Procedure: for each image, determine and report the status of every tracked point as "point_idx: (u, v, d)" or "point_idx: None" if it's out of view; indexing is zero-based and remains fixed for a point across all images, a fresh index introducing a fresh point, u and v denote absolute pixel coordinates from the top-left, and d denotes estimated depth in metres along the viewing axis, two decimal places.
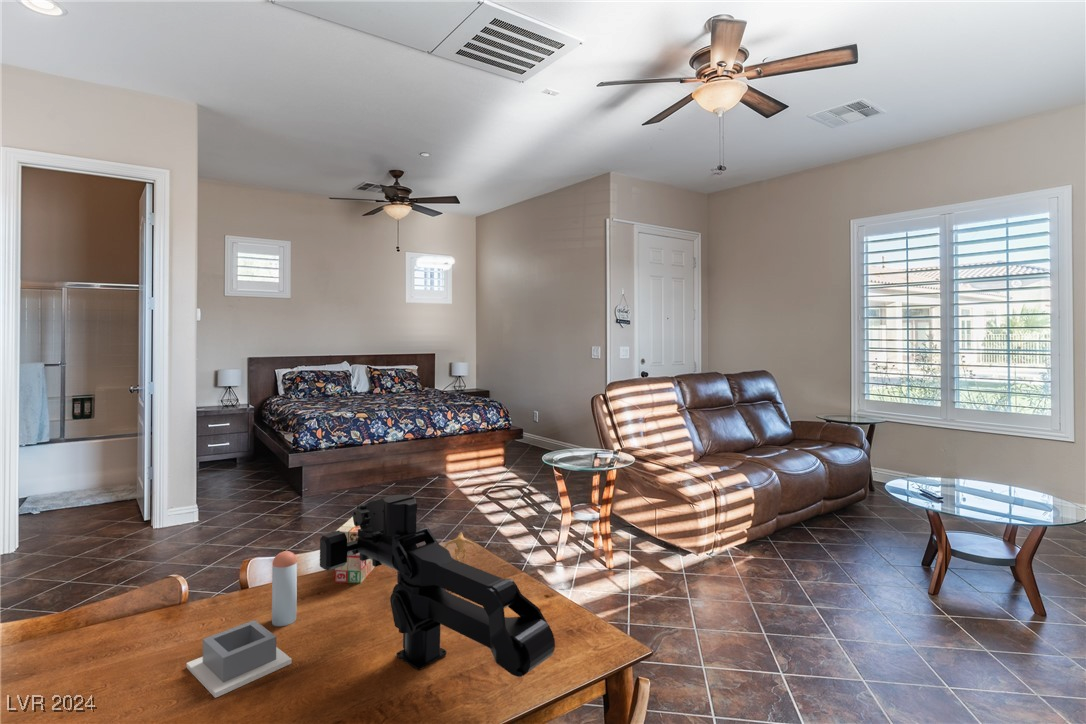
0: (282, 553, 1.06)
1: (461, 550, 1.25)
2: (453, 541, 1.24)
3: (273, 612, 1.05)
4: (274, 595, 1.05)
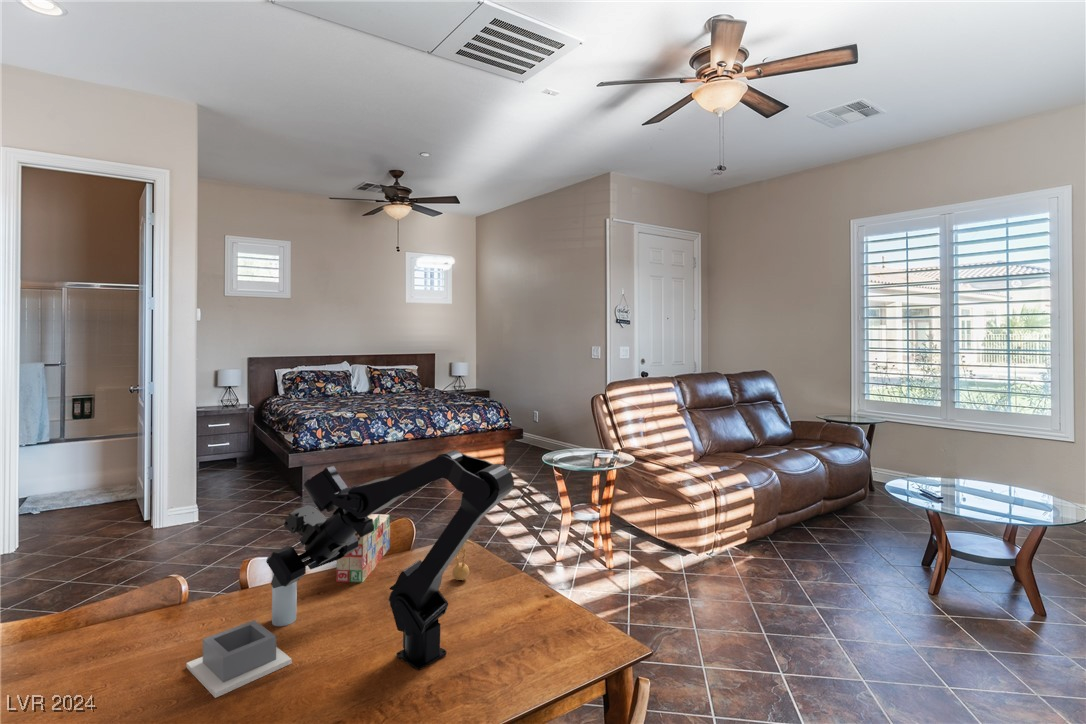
0: None
1: (461, 550, 1.25)
2: None
3: (273, 612, 1.05)
4: (274, 595, 1.05)
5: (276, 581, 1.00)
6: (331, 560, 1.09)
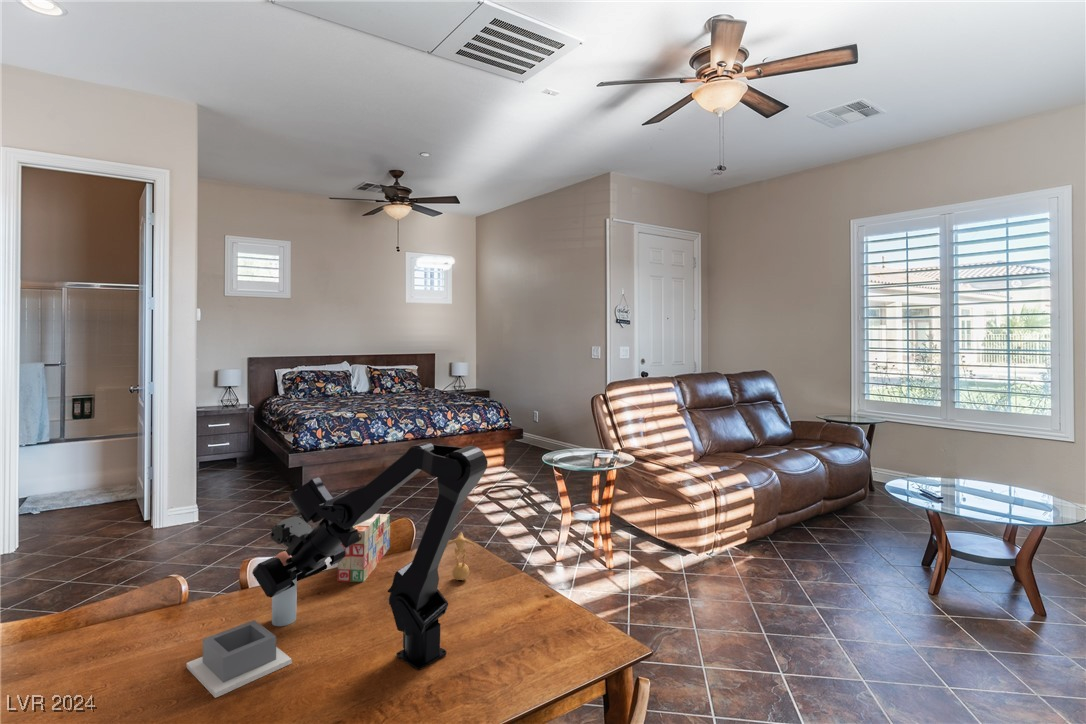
0: (282, 553, 1.06)
1: (461, 550, 1.25)
2: (453, 541, 1.24)
3: (273, 612, 1.05)
4: None
5: None
6: (310, 574, 1.08)
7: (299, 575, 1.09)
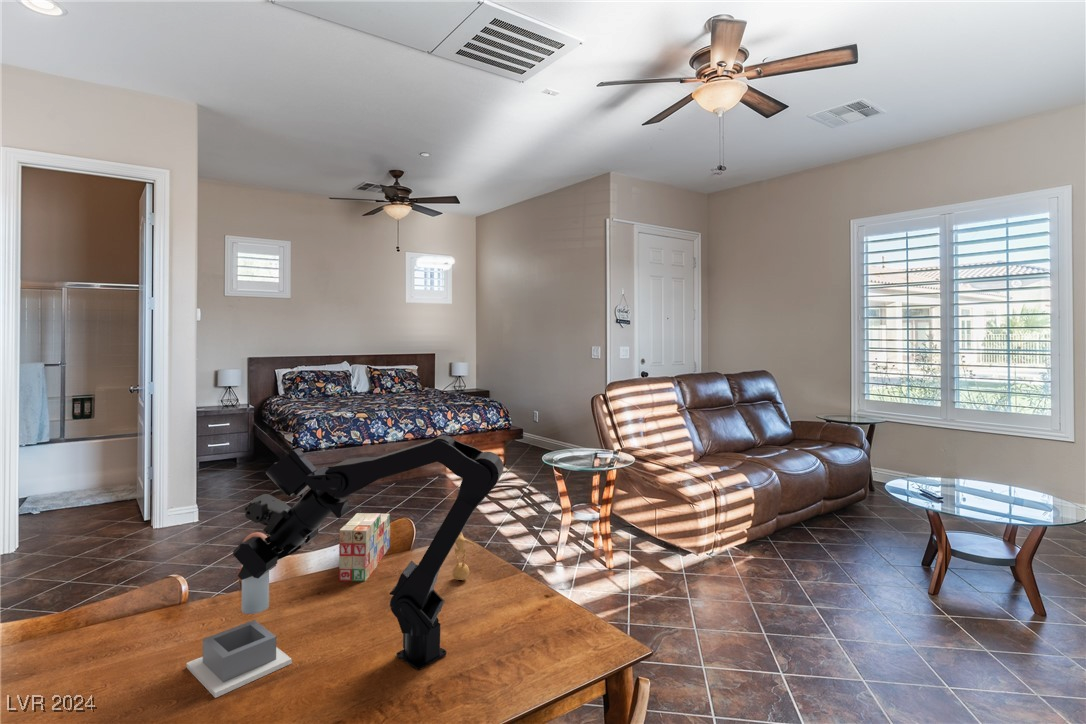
0: (253, 534, 0.97)
1: (461, 550, 1.25)
2: None
3: (245, 599, 0.96)
4: (246, 580, 0.96)
5: (246, 571, 0.95)
6: (284, 555, 1.00)
7: None
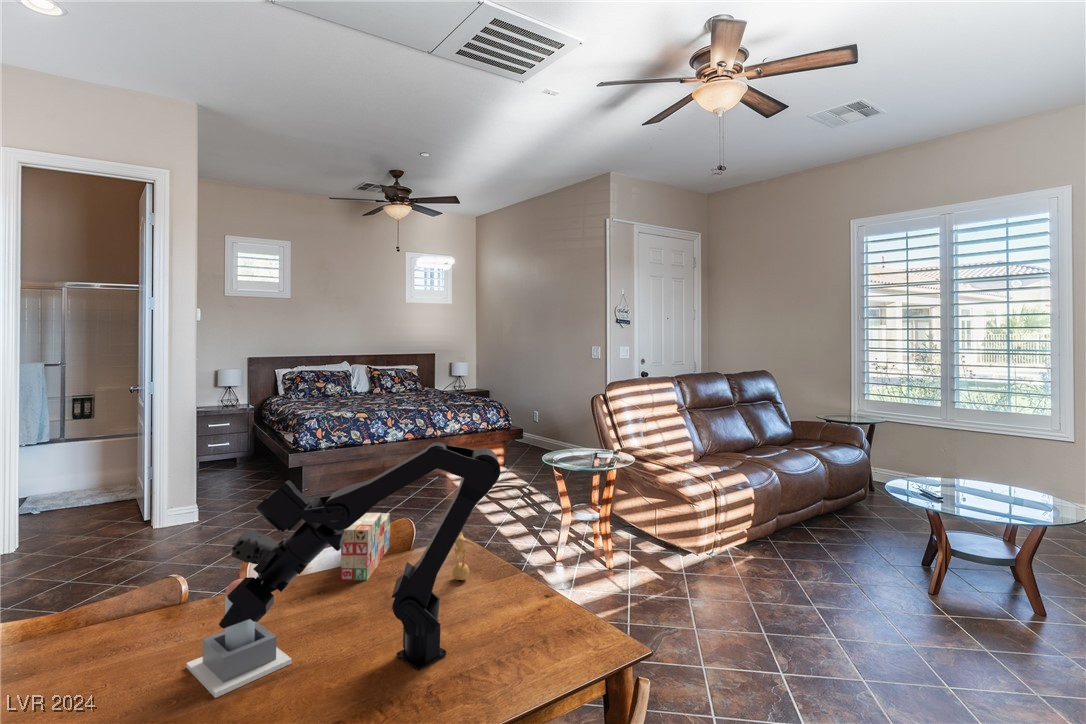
0: (238, 581, 0.92)
1: (461, 550, 1.25)
2: None
3: None
4: (232, 631, 0.90)
5: (230, 619, 0.87)
6: (273, 589, 0.96)
7: None
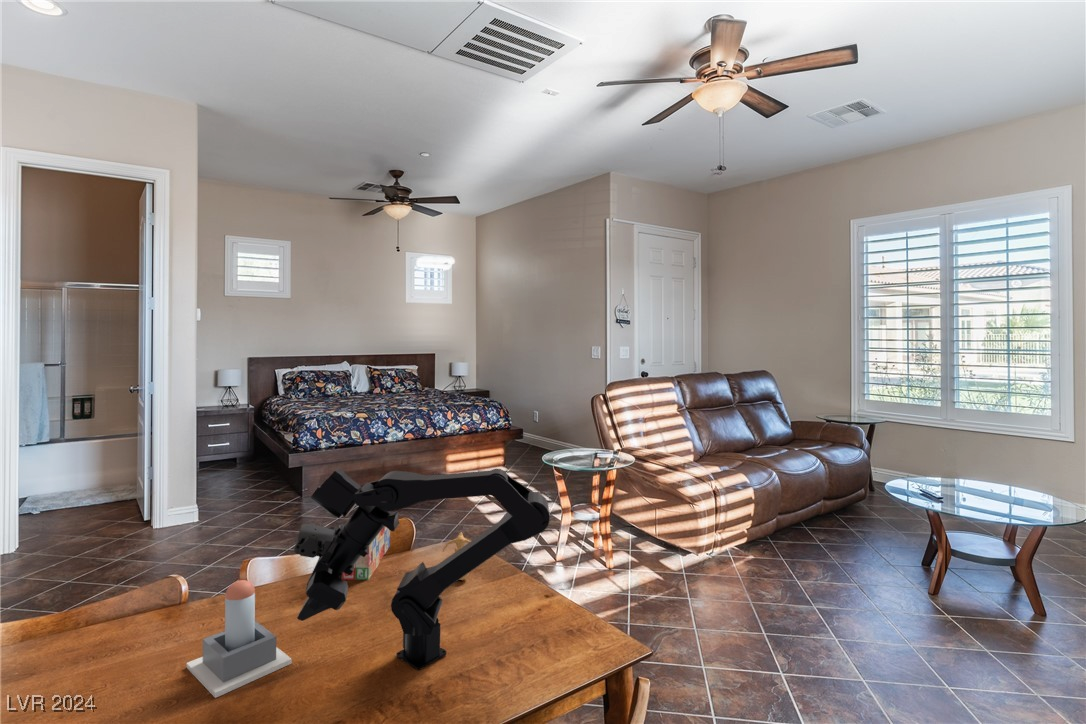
0: (238, 583, 0.91)
1: None
2: (453, 541, 1.24)
3: None
4: (232, 633, 0.90)
5: (308, 612, 0.91)
6: None
7: None
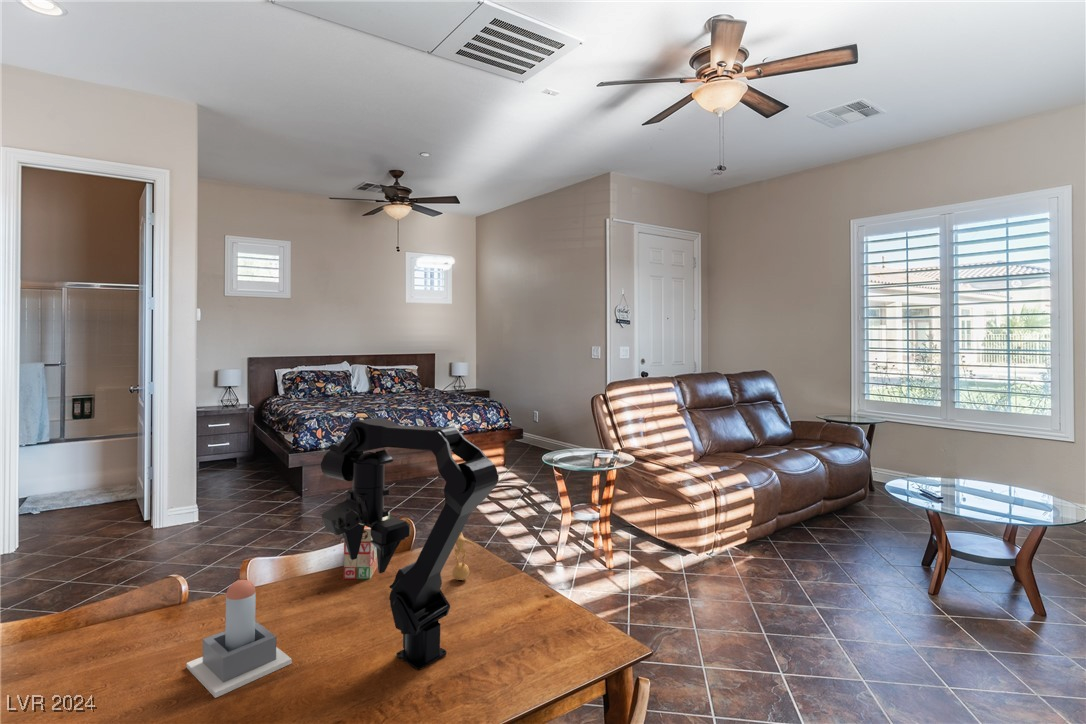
0: (239, 583, 0.91)
1: (461, 550, 1.25)
2: None
3: None
4: (232, 633, 0.90)
5: (385, 561, 1.00)
6: (362, 529, 1.08)
7: (357, 542, 1.06)
